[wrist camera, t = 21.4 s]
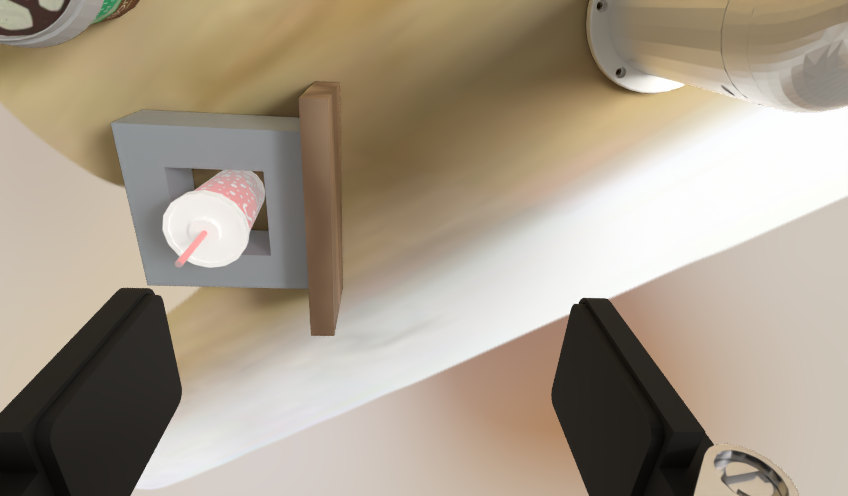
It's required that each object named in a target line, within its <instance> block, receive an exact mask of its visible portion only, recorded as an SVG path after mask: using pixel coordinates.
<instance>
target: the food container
mask: <svg viewBox="0 0 848 496" xmlns="http://www.w3.org/2000/svg"><path fill="white" fill-rule="evenodd" d="M138 2H139V0H0V44H5V45H10V46H17V47H26V48H40V47H49V46H54V45H58V44H62V43H64V42H66V41H68V40H71V39H73V38H75V37H76V36H77V35H79V34H80V33H81V32H83V31H84V30H85V29H86V28H87V27H88V26H89V25H90V24H93V23H97V22H101V21H105V20H109V19H113V18H117V17H120V16H122V15H123V14H125V13H126V12H128V11H129V10H131V9H132V8H134V7H135V6H136V5H137V3H138Z"/></svg>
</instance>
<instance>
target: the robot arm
mask: <svg viewBox="0 0 848 496" xmlns="http://www.w3.org/2000/svg"><path fill="white" fill-rule="evenodd" d="M597 3H600V5H601V6H600V8H599V9H598V10H597ZM586 30H587V39H588V44H589V47H590V50H591V54H592V56H593V58H594V60H595V62H596V64H597V65H598V67H599V68H600V70H601V71H602V72H603V73H604V74H605V75H606V76H607V78H609V79H610V80H612V81H613V82H615V83H616V84H617V85H619V86H622V87H624V88H626V89H629V90H632V91H636V92H640V93H653V94H654V93H661V92H668V91H671V90H674V89H677V88H680V87H683V86H685V85H690V86H693V87H697V88H701V89H704V90H708V91H712V92H715V93H719V94H723V95H726V96H730V97H734V98H737V99H741V100H745V101H748V102H752V103H756V104H759V105H764V106H768V107H772V108H775V109H779V110H785V111H791V112H822V111H828V110H833V109H839V108H842V107H846V106H848V0H589V4H588V8H587V21H586ZM617 69H619V73H618V74H616V71H617ZM181 395H182V387H181V382H180V377H179V373H178V368H177V363H176V359H175V354H174V349H173V345H172V340H171V335H170V331H169V326H168V321H167V317H166V312H165V307H164V303H163V299H162V298H161V296H159V295H155V294H154V292H153V290H151V289H149V288H121V289H119V290H118V291H117V292H116V293H115V294H114V295H113V296H112V297H111V298H110V300H108V301H107V302H106V303H105V304H104V305H103V307H102V308H101V309H100V310H99V311H98V312H97V313H96V314H95V315H94V316H93V317H92V318H91V319H90V320H89V321H88V322H87V323H86V324H85V325H84V326H83V327H82V328H81V329H80V330H79V332H78V333H77V334H76V335H75V336H74V337H73V338H72V339H71V340H70V341H69V342H68V343H67V344H66V345H65V346H64V347H63V348H62V349H61V350H60V352H59V353H57V354H56V355H55V357H54V358H53V359H52V360H51V361H50V362H49V363H48V364H47V365H46V366H45V367H44V368H43V369H42V370H41V371H40V372H39V373H38V374H37V375H36V376H35V377H34V379H33V380H32V381H31V382H30V383H29V384H28V385H27V386H26V387H25V388H24V389H23V390H22V391H21V392H20V393H19V394H18V395H17V396H16V397H15V398H14V399H13V400H12V401H11V402H10V403H9V404H8V406H7V407H6V408H5V409H4V410H3V411H2V412H1V413H0V496H130V495H131V493H132V491H133V490H134V488H135V486H136V484H137V482H138V480H139V478H140V477H141V475H142V473H143V471H144V469H145V467H146V465H147V463H148V462H149V460H150V458H151V456H152V454H153V452H154V450H155V448H156V447H157V445H158V443H159V441H160V439H161V437H162V435H163V433H164V432H165V430H166V428H167V426H168V424H169V422H170V420H171V418H172V417H173V415H174V413H175V411H176V409H177V407H178V405H179V403H180V400H181ZM551 395H552V404H553V407H554V409H555V412H556V414H557V417H558V419H559V422H560V424H561V427H562V429H563V432H564V434H565V437H566V439H567V442H568V444H569V447H570V449H571V452H572V454H573V457H574V459H575V462H576V464H577V467H578V469H579V471H580V474H581V477H582V479H583V482H584V484H585V487H586V489H587V492H588V494H589V496H799V493H798V490H797V488H796V486H795V485H794V483H793V481H792V480H791V478H790V477H789V476H788V475H787V474H786V473H785V472H784V471H783V470H782V469H781V468H780V467H779V466H777V465H776V464H775V463H773V462H772V461H771V460H769V459H768V458H767V457H765V456H763V455H761V454H759V453H757V452H756V451H754V450H751V449H748V448H746V447H743V446H740V445H734V444H728V443H727V444H726V443H725V444H716V445H714V444H713V443H712V441H711V440H710V439H709V437H708V436H707V435H706V433H705V431H704V429H703V428H702V426H701V425H700V424H699V422H698V421H697V419H696V418H695V417H694V416H693V414H692V413H691V411H690V410H689V409H688V407H687V406H686V405H685V403H684V402H683V400H682V399H681V398H680V396H679V395H678V394H677V392H676V391H675V389H674V388H673V387H672V385H671V384H670V383H669V381H668V380H667V379H666V377H665V376H664V374H663V373H662V372H661V370H660V369H659V368H658V366H657V365H656V364H655V362H654V361H653V359H652V358H651V357H650V355H649V354H648V353H647V351H646V350H645V349H644V347H643V346H642V344H641V343H640V342H639V340H638V339H637V338H636V336H635V335H634V333H633V332H632V331H631V329H630V328H629V327H628V325H627V324H626V322H625V321H624V320H623V319H622V317H621V316H620V314H619V313H618V312H617V310H616V309H615V308H614V306H613V305H612V303H611V302H610V301H609V300H608V299H605V298H582V299H581V300H580V302H579V304H574V305H573V306H572V308H571V312H570V316H569V320H568V324H567V329H566V333H565V337H564V341H563V345H562V349H561V353H560V358H559V362H558V366H557V370H556V375H555V379H554V383H553V387H552V394H551Z"/></svg>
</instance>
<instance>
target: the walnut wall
mask: <svg viewBox="0 0 848 496" xmlns="http://www.w3.org/2000/svg"><path fill="white" fill-rule="evenodd" d="M298 99H299V118H300V137H301V155H302V174H303V193H304V212H305V231H306V250H307V269H308V288H309V307H310V326H311V336H334V335H335V329H336V323H337V318H338V312H339V306H340V301H341V295H342V289H343V270H342V205H341V140H340V83H336V82H319V81H315V82H314V83H313V84H312V85H311V86H310V87H309V88H308V89H307V90H306V91H305V92H304V93H303V94H302V95H301V96H300V97H299V98H298Z"/></svg>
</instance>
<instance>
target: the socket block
mask: <svg viewBox="0 0 848 496" xmlns="http://www.w3.org/2000/svg"><path fill="white" fill-rule="evenodd" d="M111 127H112V131H113V136H114V140H115V144H116V149H117V153H118V157H119V162H120V166H121V171H122V175H123V179H124V184H125V188H126V193H127V197H128V201H129V205H130V210H131V214H132V219H133V223H134V227H135V232H136V236H137V241H138V245H139V250H140V254H141V258H142V263H143V267H144V271H145V276H146V280H147V285H158V286H201V287H245V288H290V289H309V288H308V269H307V250H306V231H305V212H304V193H303V174H302V155H301V137H300V118H298V117H279V116H259V115H239V114H219V113H200V112H180V111H160V110H140V111H138V112H135V113H133V114H130V115H128V116H126V117H123V118H121V119H118V120H116V121H114V122H111ZM192 168H194V169H218V170H242V171H263V172H264V183H265V194H266V205H267V216H268V227H269V231H261V230H250V234H249V240H248V244H247V247H246V248H245V250H244V251H243V252H242V254H241V255H240V257H239V258H238V259H237V260H235V261H233V262H232V263H230V264H228V265H226V266H221V267H213V268H208V267H203V266H199V265H194V264H192V263H190V262H188V261H186V262H185V263H184V264H183V266H182V267H176V266H175V262H176V261H177V260H178V258H179V257H180V256H178V254H177V253H176V252H175V251H174V250H173V249H172V248H171V247H170V246H169V244H168V243H167V240H166V237H165V235H164V232H163V230H162V229H163V215H164V213H165V212H166V210H167V208H168V207H169V205H170V204H171V202H173V201H174V200H176V199H177V198H179V197H180V196H182V195H184V194H186V193H187V192H191V191H194V190H195V186H194V180H193V174H192Z"/></svg>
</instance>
